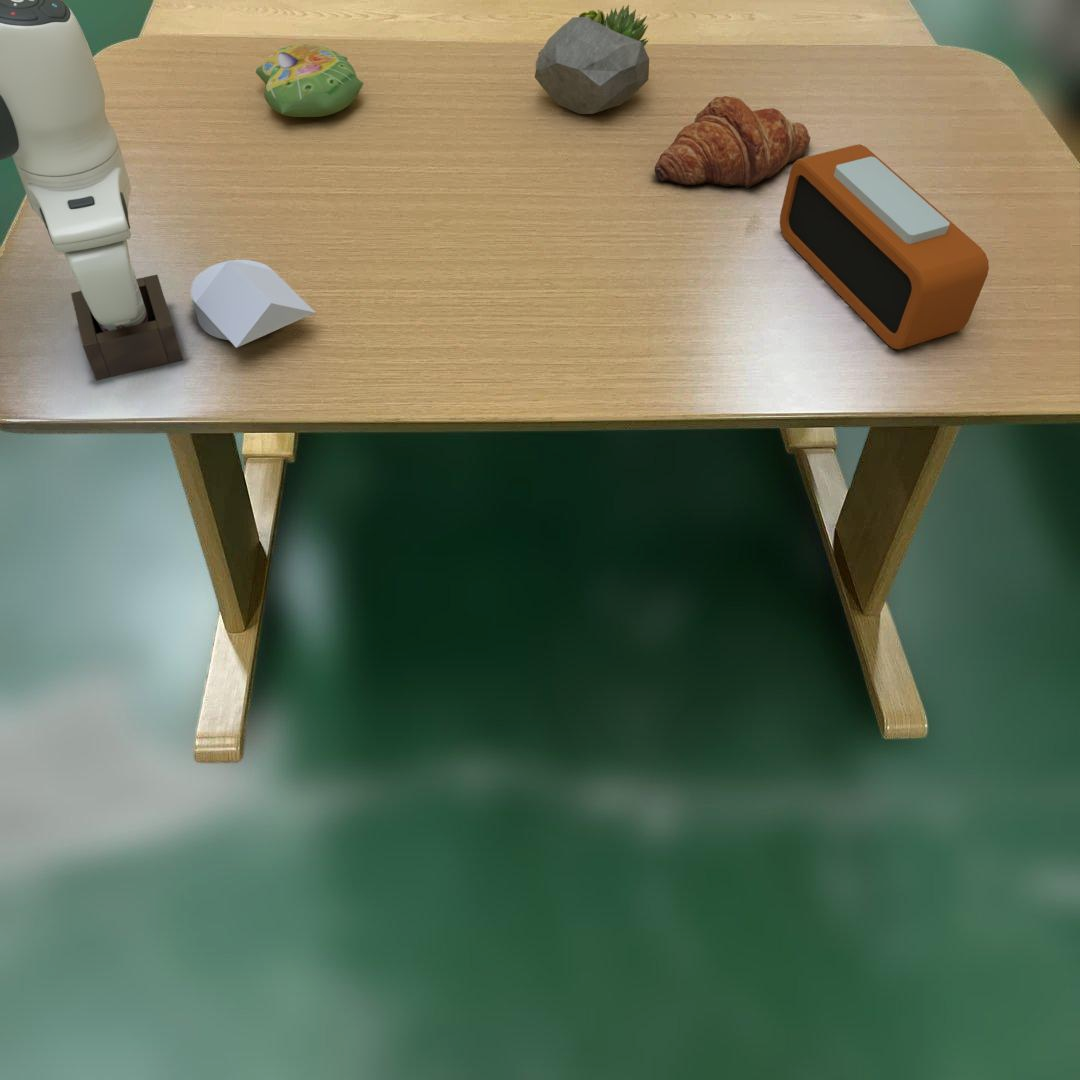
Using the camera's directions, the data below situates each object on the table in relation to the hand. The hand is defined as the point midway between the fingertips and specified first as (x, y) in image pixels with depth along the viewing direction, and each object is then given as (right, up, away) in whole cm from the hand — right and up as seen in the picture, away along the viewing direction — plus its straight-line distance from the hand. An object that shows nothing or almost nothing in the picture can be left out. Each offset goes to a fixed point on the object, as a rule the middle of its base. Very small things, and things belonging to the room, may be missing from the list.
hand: (116, 301), depth 109 cm
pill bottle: (0, -2, +2) cm, 3 cm away
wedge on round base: (+12, -1, +7) cm, 13 cm away
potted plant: (+49, +35, +37) cm, 71 cm away
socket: (0, -3, +4) cm, 5 cm away
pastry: (+66, +23, +28) cm, 75 cm away
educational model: (+12, +34, +35) cm, 50 cm away
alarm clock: (+78, +5, +14) cm, 79 cm away
